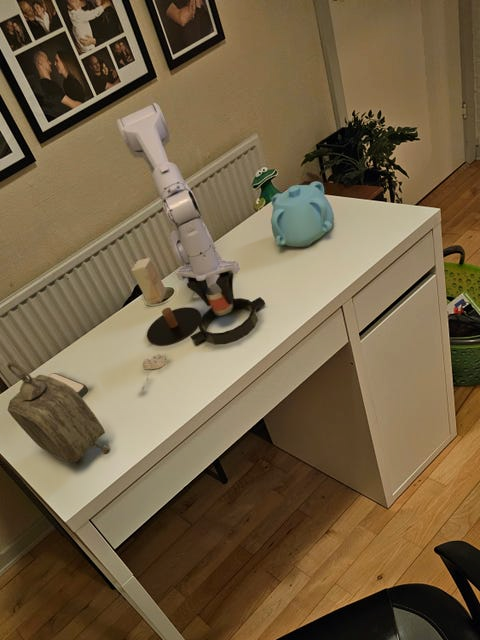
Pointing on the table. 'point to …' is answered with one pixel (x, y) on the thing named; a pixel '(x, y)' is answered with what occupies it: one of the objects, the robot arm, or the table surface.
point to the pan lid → (173, 326)
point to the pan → (234, 333)
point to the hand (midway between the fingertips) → (220, 302)
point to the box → (149, 280)
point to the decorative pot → (301, 215)
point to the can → (217, 300)
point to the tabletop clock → (55, 416)
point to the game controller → (154, 363)
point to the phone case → (70, 383)
